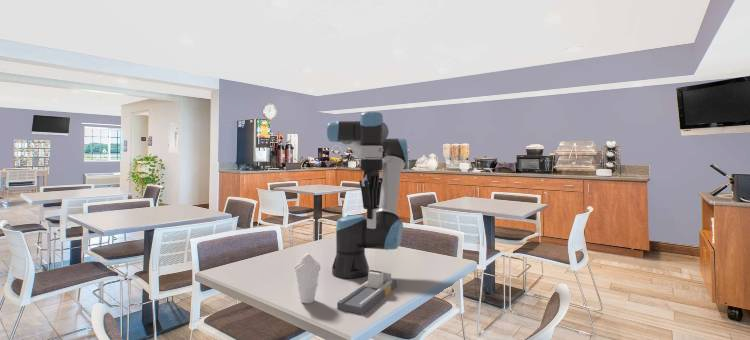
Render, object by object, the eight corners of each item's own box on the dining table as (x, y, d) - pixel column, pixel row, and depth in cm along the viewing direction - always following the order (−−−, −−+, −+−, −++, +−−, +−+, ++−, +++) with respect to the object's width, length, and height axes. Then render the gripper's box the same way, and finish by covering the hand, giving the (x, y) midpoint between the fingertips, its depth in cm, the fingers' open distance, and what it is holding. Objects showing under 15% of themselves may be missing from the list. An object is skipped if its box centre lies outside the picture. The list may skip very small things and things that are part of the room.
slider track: (337, 308, 113) (337, 293, 112) (374, 282, 137) (374, 269, 137) (362, 314, 109) (363, 298, 109) (396, 286, 133) (397, 272, 133)
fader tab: (367, 286, 126) (367, 271, 126) (372, 283, 130) (372, 268, 130) (378, 288, 124) (378, 273, 124) (383, 285, 128) (383, 270, 128)
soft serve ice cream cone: (296, 296, 123) (296, 249, 122) (321, 295, 123) (321, 249, 123) (292, 306, 114) (292, 256, 114) (319, 305, 115) (319, 255, 114)
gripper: (372, 159, 114) (372, 233, 116) (389, 158, 126) (389, 225, 127) (352, 158, 118) (352, 230, 119) (370, 158, 129) (370, 223, 131)
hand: (371, 227), depth 123 cm, fingers closed
